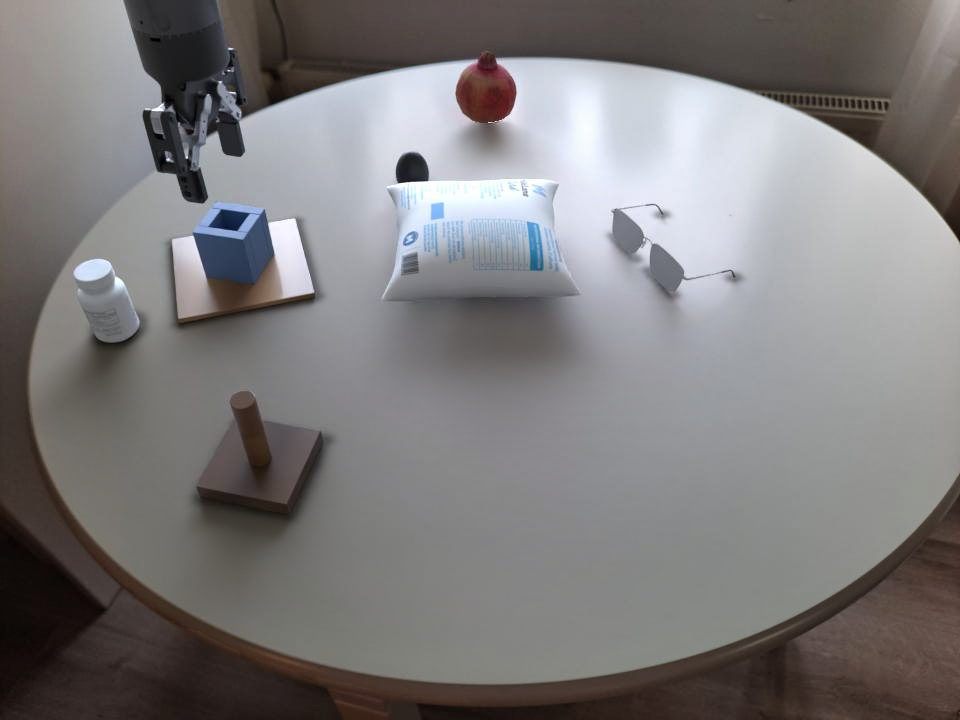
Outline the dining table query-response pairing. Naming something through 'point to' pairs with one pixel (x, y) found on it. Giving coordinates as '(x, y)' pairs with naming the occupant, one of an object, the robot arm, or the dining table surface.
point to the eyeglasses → (660, 259)
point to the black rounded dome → (411, 168)
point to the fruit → (486, 90)
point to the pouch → (477, 241)
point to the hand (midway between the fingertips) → (216, 176)
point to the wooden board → (220, 297)
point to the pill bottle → (105, 301)
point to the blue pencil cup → (234, 242)
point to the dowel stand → (259, 460)
